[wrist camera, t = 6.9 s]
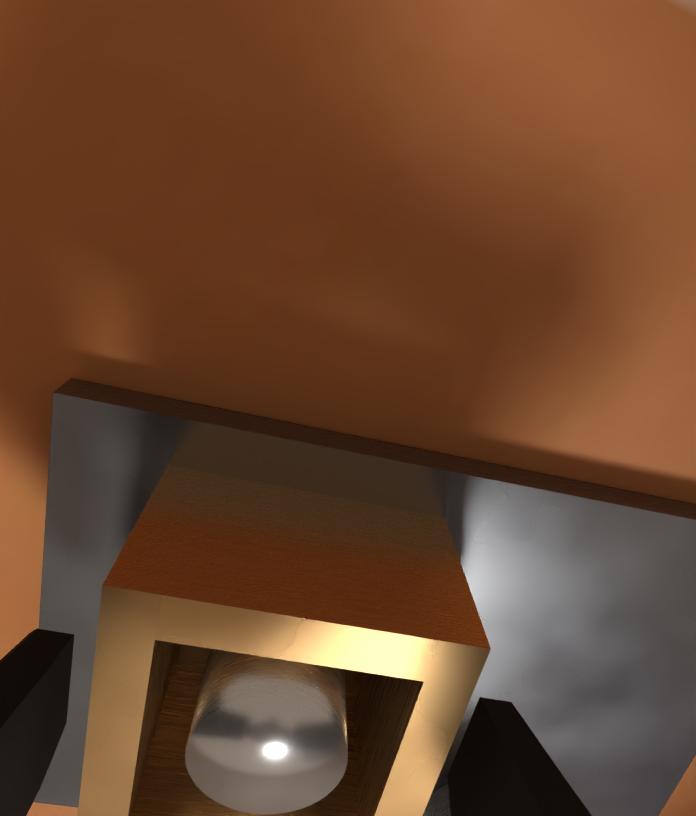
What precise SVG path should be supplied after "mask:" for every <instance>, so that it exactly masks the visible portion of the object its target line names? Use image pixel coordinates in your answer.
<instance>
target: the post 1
mask: <svg viewBox="0 0 696 816" xmlns="http://www.w3.org/2000/svg"><path fill="white" fill-rule="evenodd" d="M347 761H348V747H347V721H346V696H345V670H344V669H339V668H333V667H326V666H320V665H313V664H307V663H301V662H294V661H288V660H281V659H275V658H268V657H262V656H255V655H249V654H242V653H236V652H230V651H223V650H217V649H210V650H209V655H208V659H207V663H206V667H205V671H204V675H203V679H202V683H201V687H200V692H199V696H198V700H197V704H196V708H195V712H194V716H193V720H192V724H191V728H190V733H189V737H188V741H187V745H186V750H185V762H186V767H187V770H188V773H189V775H190V777H191V779H192V780H193V782H194V783H195V785H196V786H197V787H198V788H199V789H200V790H201V791H202V792H203V793H204V794H205V795H207V796H208V797H209V798H211V799H212V800H214V801H216V802H218V803H220V804H222V805H224V806H226V807H229V808H231V809H234V810H238V811H242V812H247V813H253V814H280V813H286V812H292V811H295V810H299V809H302V808H305V807H307V806H310V805H312V804H314V803H316V802H318V801H319V800H321V799H322V798H324V797H325V796H327V795H328V794H329V793H330V792H331V791H332V790H333V789H334V788H335V787H336V786H337V785H338V784H339V782H340V780H341V779H342V777H343V775H344V773H345V770H346V766H347Z"/></svg>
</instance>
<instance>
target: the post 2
mask: <svg viewBox="0 0 696 816" xmlns="http://www.w3.org/2000/svg"><path fill="white" fill-rule="evenodd" d="M423 816H451V812H450V801H449V790H448V785H447V786H444V787H443V788H441V789H439V790H437V791H436V792H434V793H433V794H432V795H431V796H430V799H429V801H428V803H427V806H426V808H425V811H424V813H423Z"/></svg>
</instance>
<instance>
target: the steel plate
mask: <svg viewBox="0 0 696 816" xmlns="http://www.w3.org/2000/svg"><path fill="white" fill-rule="evenodd" d="M167 465H171V466H176V467H181V468H187V469H192V470H197V471H202V472H208V473H213V474H218V475H224V476H229V477H234V478H239V479H245V480H250V481H255V482H260V483H266V484H271V485H276V486H282V487H287V488H292V489H297V490H303V491H308V492H313V493H318V494H324V495H329V496H334V497H340V498H345V499H350V500H355V501H361V502H366V503H371V504H377V505H382V506H387V507H392V508H398V509H403V510H408V511H413V512H419V513H424V514H429V515H435V516H440V517H445V519H446V522H447V525H448V528H449V531H450V533H451V536H452V539H453V542H454V545H455V548H456V551H457V553H458V556H459V559H460V562H461V565H462V568H463V571H464V573H465V576H466V579H467V582H468V585H469V588H470V591H471V593H472V596H473V599H474V602H475V605H476V608H477V611H478V613H479V616H480V619H481V622H482V625H483V628H484V631H485V633H486V636H487V639H488V642H489V645H490V648H491V650H490V653H489V655H488V657H487V660H486V662H485V665H484V667H483V670H482V672H481V674H480V677H479V679H478V682H477V684H476V687H475V689H474V691H473V694H472V696H471V699H470V701H469V704H468V706H467V708H466V711H465V713H464V716H463V718H462V721H461V723H460V726H459V728H458V730H457V733H456V735H455V738H454V740H453V743H452V745H451V747H450V750H449V752H448V755H447V757H446V760H445V762H444V764H443V767H442V769H441V772H440V774H439V777H438V779H437V782H436V784H435V786H434V789H433V791H432V794H433V793H434V792H436V791H437V790H439V789H441V788H443V787H444V786H447V785H448V779H447V775H448V772H449V770H450V768H451V765H452V763H453V760H454V758H455V756H456V753H457V751H458V748H459V746H460V744H461V741H462V739H463V736H464V734H465V731H466V729H467V727H468V724H469V722H470V719H471V717H472V715H473V712H474V710H475V707H476V705H477V703H478V700H479V698H480V697H482V698H489V699H495V700H502V701H508V702H512V704H513V705H514V706H515V708H516V709H517V710H518V712H519V713H520V715H521V716H522V718H523V719H524V720H525V722H526V723H527V725H528V726H529V727H530V729H531V730H532V732H533V733H534V735H535V736H536V738H537V739H538V740H539V742H540V743H541V745H542V746H543V748H544V749H545V751H546V752H547V753H548V755H549V756H550V758H551V759H552V760H553V762H554V763H555V765H556V766H557V768H558V769H559V770H560V772H561V773H562V775H563V776H564V778H565V779H566V780H567V782H568V783H569V785H570V786H571V787H572V789H573V790H574V792H575V793H576V794H577V796H578V797H579V798H580V800H581V801H582V803H583V804H584V805H585V807H586V808H587V809H588V811H589V812H590V814H591V815H592V816H658V815H659V814H660V812H661V810H662V809H663V807H664V805H665V804H666V802H667V801H668V799H669V797H670V796H671V794H672V793H673V791H674V789H675V788H676V786H677V784H678V783H679V781H680V780H681V778H682V776H683V775H684V773H685V771H686V770H687V768H688V767H689V765H690V763H691V762H692V760H693V758H694V757H695V755H696V505H695V504H690V503H685V502H680V501H675V500H670V499H665V498H660V497H655V496H650V495H645V494H640V493H636V492H631V491H626V490H621V489H616V488H611V487H606V486H601V485H596V484H591V483H586V482H581V481H576V480H571V479H566V478H561V477H556V476H551V475H546V474H541V473H536V472H531V471H526V470H521V469H516V468H512V467H507V466H502V465H497V464H492V463H487V462H482V461H477V460H472V459H467V458H462V457H457V456H452V455H447V454H442V453H437V452H432V451H427V450H422V449H417V448H412V447H407V446H402V445H397V444H393V443H388V442H383V441H378V440H373V439H368V438H363V437H358V436H353V435H348V434H343V433H338V432H333V431H328V430H323V429H318V428H313V427H308V426H303V425H298V424H293V423H288V422H283V421H278V420H273V419H269V418H264V417H259V416H254V415H249V414H244V413H239V412H234V411H229V410H224V409H219V408H214V407H209V406H204V405H199V404H194V403H189V402H184V401H179V400H174V399H169V398H164V397H159V396H154V395H149V394H145V393H140V392H135V391H130V390H125V389H120V388H115V387H110V386H105V385H100V384H95V383H90V382H85V381H80V380H75V379H70V380H69V381H67V382H66V383H65V384H64V385H62V386H61V387H60V388H59V389H57V390H56V391H55V392H54V393H53V406H52V422H51V438H50V455H49V471H48V487H47V503H46V520H45V536H44V552H43V568H42V585H41V601H40V617H39V629H43V630H50V631H56V632H63V633H69V634H74V645H73V656H72V667H71V679H70V690H69V701H68V712H67V723H66V726H65V728H64V731H63V733H62V736H61V738H60V741H59V743H58V746H57V748H56V751H55V753H54V756H53V758H52V761H51V763H50V766H49V768H48V770H47V773H46V775H45V778H44V780H43V782H42V785H41V787H40V790H39V791H38V793H37V795H36V797H35V799H34V801H33V802H37V803H45V804H53V805H62V806H70V807H79V797H80V788H81V779H82V769H83V760H84V751H85V742H86V732H87V723H88V714H89V704H90V695H91V686H92V676H93V667H94V658H95V648H96V639H97V630H98V621H99V611H100V602H101V593H102V585H103V583H104V581H105V579H106V578H107V576H108V574H109V572H110V570H111V568H112V567H113V565H114V563H115V561H116V559H117V557H118V556H119V554H120V552H121V550H122V548H123V546H124V544H125V543H126V541H127V539H128V537H129V535H130V533H131V532H132V530H133V528H134V526H135V524H136V522H137V521H138V519H139V517H140V515H141V513H142V511H143V510H144V508H145V506H146V504H147V502H148V500H149V499H150V497H151V495H152V493H153V491H154V489H155V487H156V486H157V484H158V482H159V480H160V478H161V476H162V475H163V473H164V471H165V469H166V467H167ZM209 650H210V648H204V647H197V646H191V645H184V644H180V646H179V652H178V658H177V661H183V662H189V663H196V664H203V665H206V663H207V659H208V655H209ZM344 670H345V686H348V687H352V685H353V682H354V678H355V675H356V672H357V671H352V670H346V669H344ZM432 794H431V795H432Z"/></svg>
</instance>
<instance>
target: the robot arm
mask: <svg viewBox="0 0 696 816" xmlns="http://www.w3.org/2000/svg"><path fill="white" fill-rule="evenodd" d="M73 645H74V634H69V633H63V632H56V631H50V630H43V629H36V630H34V631H32V632H31V633H29V634H28V635H27V636H26V637H25V638H24V639H23V640H22V641H21V642H20V643H19V644H18V645H16V646H15V647H14V648H13V649H12V650H11V651H10V652H9V653H8V654H7V655H6V656H4V657H3V658H2V659H1V660H0V816H26V815H27V813H28V811H29V809H30V807H31V805H32V803H33V801H34V799H35V797H36V795H37V793H38V791H39V790H40V787H41V785H42V782H43V780H44V778H45V775H46V773H47V770H48V768H49V766H50V763H51V761H52V758H53V756H54V753H55V751H56V748H57V746H58V743H59V741H60V738H61V736H62V733H63V731H64V728H65V726H66V723H67V712H68V701H69V690H70V679H71V667H72V656H73ZM447 779H448V790H449V801H450V812H451V816H592V815H591V814H590V812H589V811H588V809H587V808H586V807H585V805H584V804H583V803H582V801H581V800H580V798H579V797H578V796H577V794H576V793H575V792H574V790H573V789H572V787H571V786H570V785H569V783H568V782H567V780H566V779H565V778H564V776H563V775H562V773H561V772H560V770H559V769H558V768H557V766H556V765H555V763H554V762H553V760H552V759H551V758H550V756H549V755H548V753H547V752H546V751H545V749H544V748H543V746H542V745H541V743H540V742H539V740H538V739H537V738H536V736H535V735H534V733H533V732H532V730H531V729H530V727H529V726H528V725H527V723H526V722H525V720H524V719H523V718H522V716H521V715H520V713H519V712H518V710H517V709H516V708H515V706H514V705H513V704H512V702H508V701H502V700H495V699H489V698H482V697H480V698H479V700H478V703H477V705H476V707H475V710H474V712H473V715H472V717H471V719H470V722H469V724H468V727H467V729H466V731H465V734H464V736H463V739H462V741H461V744H460V746H459V748H458V751H457V753H456V756H455V758H454V760H453V763H452V765H451V768H450V770H449V772H448V775H447Z"/></svg>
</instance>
